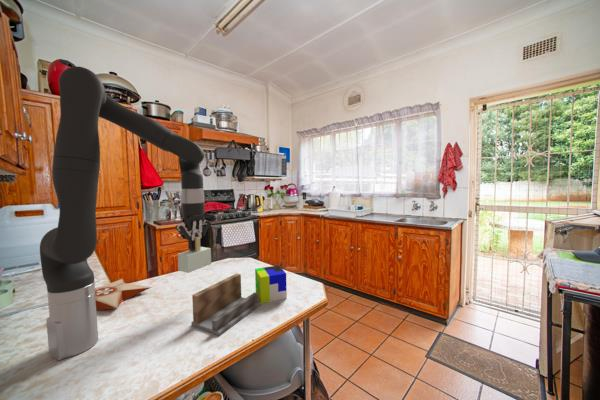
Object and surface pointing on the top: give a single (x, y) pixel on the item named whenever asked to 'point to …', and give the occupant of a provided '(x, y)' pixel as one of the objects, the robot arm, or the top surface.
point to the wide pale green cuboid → (194, 258)
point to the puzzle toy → (270, 284)
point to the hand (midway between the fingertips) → (194, 249)
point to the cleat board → (222, 305)
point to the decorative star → (116, 294)
